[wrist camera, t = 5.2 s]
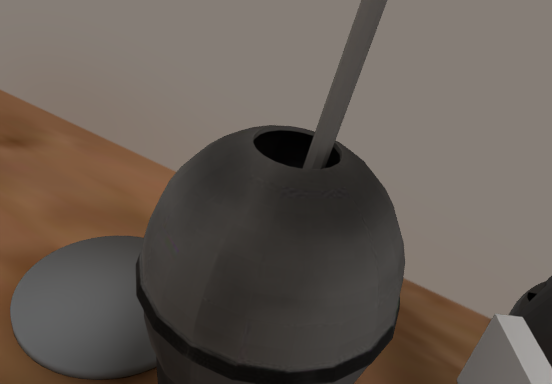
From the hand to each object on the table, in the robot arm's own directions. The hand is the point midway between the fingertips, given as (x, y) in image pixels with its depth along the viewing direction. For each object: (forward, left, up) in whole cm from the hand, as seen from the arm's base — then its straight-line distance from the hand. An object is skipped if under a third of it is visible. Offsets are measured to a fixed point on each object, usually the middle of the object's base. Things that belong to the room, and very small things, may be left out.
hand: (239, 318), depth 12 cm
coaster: (+6, -10, -11) cm, 16 cm away
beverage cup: (-1, -1, -11) cm, 11 cm away
